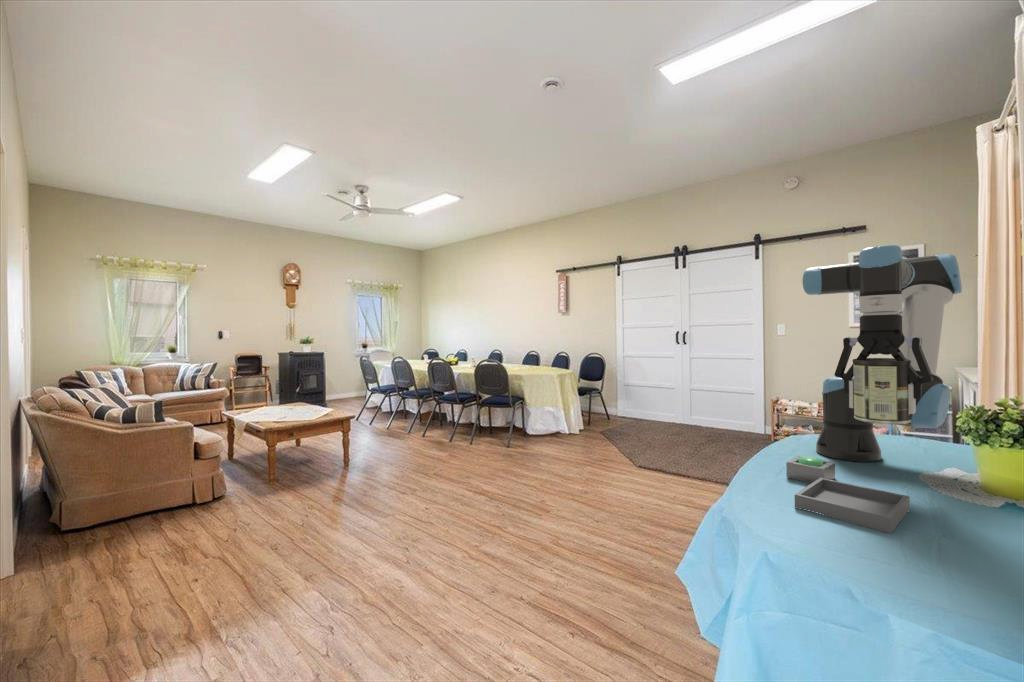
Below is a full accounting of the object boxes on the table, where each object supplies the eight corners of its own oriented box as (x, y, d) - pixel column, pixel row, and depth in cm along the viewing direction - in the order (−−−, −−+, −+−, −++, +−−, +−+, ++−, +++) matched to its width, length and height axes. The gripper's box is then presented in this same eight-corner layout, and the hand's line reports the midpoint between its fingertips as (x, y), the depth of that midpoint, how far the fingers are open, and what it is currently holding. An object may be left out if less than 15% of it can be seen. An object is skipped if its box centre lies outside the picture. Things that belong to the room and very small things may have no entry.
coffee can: (892, 415, 106) (891, 357, 105) (923, 425, 96) (922, 360, 95) (844, 415, 108) (843, 358, 107) (869, 424, 98) (868, 361, 97)
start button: (802, 470, 113) (802, 455, 113) (825, 475, 109) (825, 459, 109) (795, 474, 110) (795, 459, 110) (818, 479, 106) (818, 463, 106)
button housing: (798, 470, 115) (798, 455, 115) (835, 478, 109) (834, 462, 109) (786, 477, 110) (786, 461, 110) (824, 486, 104) (823, 469, 104)
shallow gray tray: (820, 489, 102) (820, 477, 102) (909, 509, 90) (909, 496, 90) (794, 507, 92) (794, 494, 92) (890, 533, 80) (890, 518, 80)
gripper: (817, 316, 107) (818, 406, 108) (946, 311, 90) (946, 419, 90) (827, 316, 112) (828, 402, 113) (951, 311, 94) (952, 414, 95)
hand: (881, 409), depth 102 cm, fingers closed on coffee can, 10 cm apart
